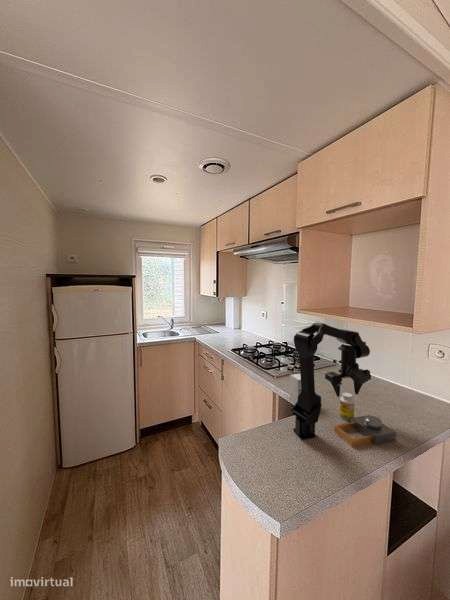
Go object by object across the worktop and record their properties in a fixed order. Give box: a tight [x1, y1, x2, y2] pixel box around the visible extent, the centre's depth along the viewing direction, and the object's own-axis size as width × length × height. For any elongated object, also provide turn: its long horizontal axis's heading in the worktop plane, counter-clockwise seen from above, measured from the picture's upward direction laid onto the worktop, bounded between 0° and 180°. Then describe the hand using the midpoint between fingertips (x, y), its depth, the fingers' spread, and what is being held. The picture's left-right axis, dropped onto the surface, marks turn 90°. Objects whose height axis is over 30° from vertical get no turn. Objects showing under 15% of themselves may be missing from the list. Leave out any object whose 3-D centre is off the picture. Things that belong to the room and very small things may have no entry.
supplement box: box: [289, 373, 301, 405], centre depth 121 cm, size 7×7×13 cm
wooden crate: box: [333, 414, 397, 447], centre depth 94 cm, size 18×12×6 cm
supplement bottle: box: [339, 392, 356, 421], centre depth 106 cm, size 6×6×10 cm
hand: (347, 395), depth 106 cm, fingers open, 9 cm apart
